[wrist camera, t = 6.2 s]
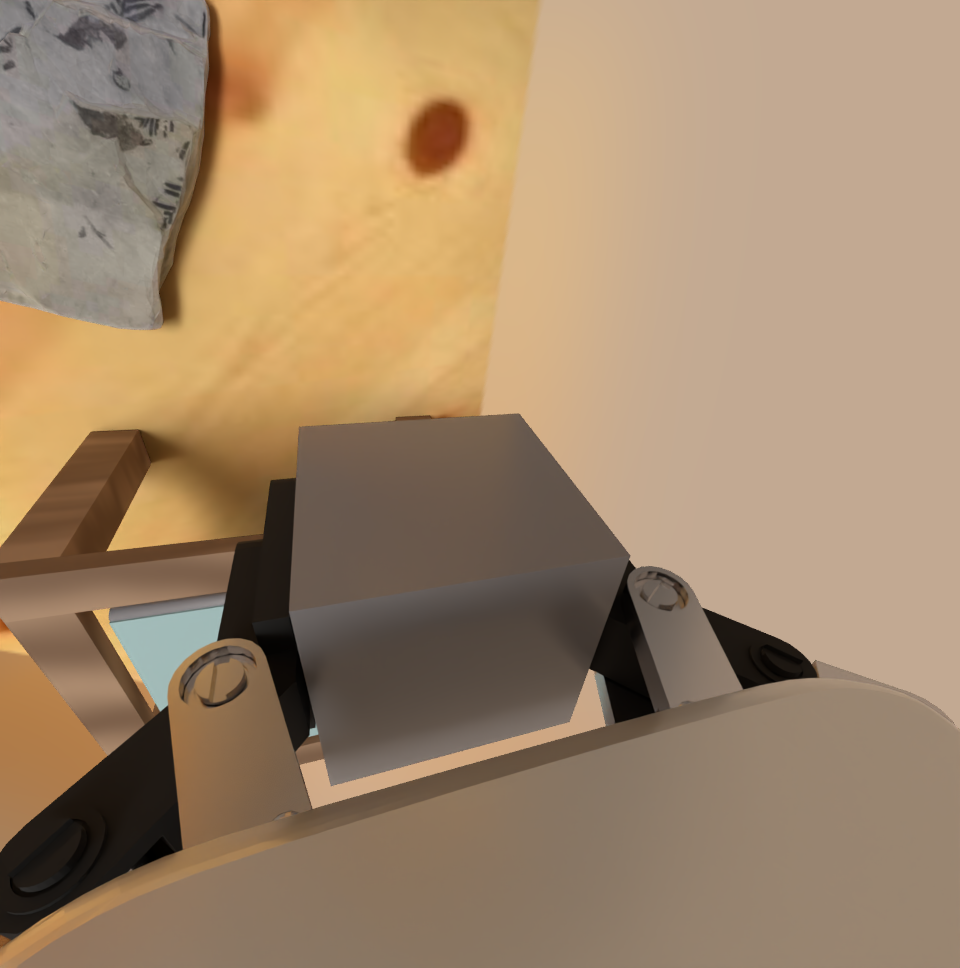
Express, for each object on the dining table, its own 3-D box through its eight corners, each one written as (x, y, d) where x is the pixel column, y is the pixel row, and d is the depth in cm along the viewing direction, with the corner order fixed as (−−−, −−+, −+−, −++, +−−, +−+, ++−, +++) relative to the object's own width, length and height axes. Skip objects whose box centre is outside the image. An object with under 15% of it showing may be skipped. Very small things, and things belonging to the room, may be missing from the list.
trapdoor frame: (90, 431, 28) (-27, 582, 18) (429, 415, 34) (476, 522, 24) (185, 644, 40) (144, 803, 30) (423, 604, 46) (453, 726, 36)
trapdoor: (113, 601, 22) (106, 617, 21) (407, 560, 26) (410, 573, 25) (193, 748, 30) (190, 764, 29) (407, 700, 34) (409, 713, 33)
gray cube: (299, 426, 10) (288, 611, 6) (519, 413, 11) (630, 555, 7) (325, 589, 12) (331, 785, 9) (498, 562, 14) (569, 721, 10)
